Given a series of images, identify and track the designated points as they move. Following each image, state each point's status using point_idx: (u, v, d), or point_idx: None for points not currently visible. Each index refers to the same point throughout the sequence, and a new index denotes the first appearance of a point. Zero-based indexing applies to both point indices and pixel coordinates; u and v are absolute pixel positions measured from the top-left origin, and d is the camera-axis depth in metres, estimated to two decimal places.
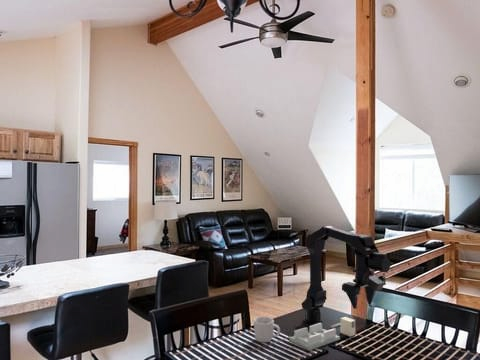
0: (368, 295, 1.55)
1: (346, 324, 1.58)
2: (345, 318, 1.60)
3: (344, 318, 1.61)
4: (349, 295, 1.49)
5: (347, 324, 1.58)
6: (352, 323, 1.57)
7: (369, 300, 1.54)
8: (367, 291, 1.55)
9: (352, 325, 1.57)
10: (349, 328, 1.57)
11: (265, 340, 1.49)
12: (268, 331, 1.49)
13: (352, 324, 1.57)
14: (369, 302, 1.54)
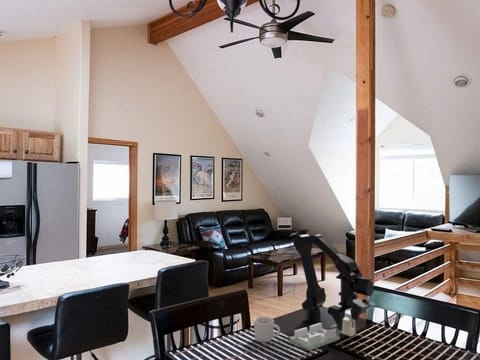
0: (353, 317, 1.63)
1: (346, 324, 1.58)
2: (345, 318, 1.60)
3: (344, 318, 1.61)
4: (335, 318, 1.57)
5: (347, 324, 1.58)
6: (352, 323, 1.57)
7: None
8: (352, 313, 1.63)
9: (352, 325, 1.57)
10: (349, 328, 1.57)
11: (265, 340, 1.49)
12: (268, 331, 1.49)
13: (352, 324, 1.57)
14: None
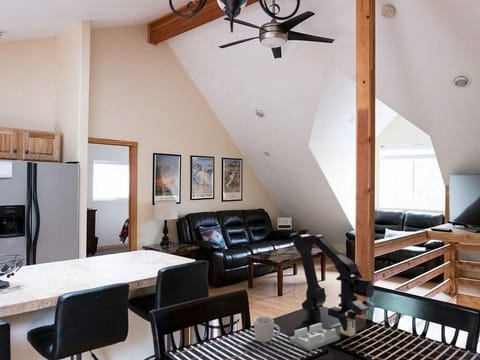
0: None
1: None
2: None
3: None
4: None
5: (347, 324, 1.58)
6: (352, 323, 1.57)
7: None
8: (348, 316, 1.62)
9: (352, 325, 1.57)
10: (349, 328, 1.57)
11: (265, 340, 1.49)
12: (268, 331, 1.49)
13: (352, 324, 1.57)
14: None
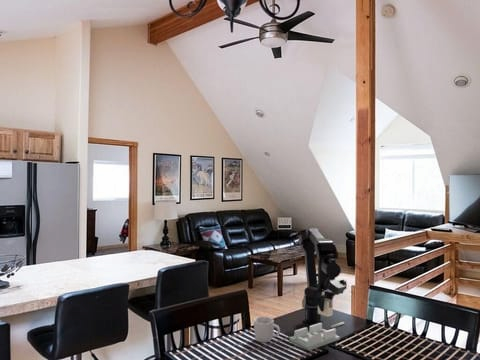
0: None
1: None
2: None
3: None
4: (316, 298, 1.54)
5: (324, 304, 1.53)
6: (329, 303, 1.52)
7: None
8: (325, 296, 1.57)
9: (329, 305, 1.52)
10: (326, 308, 1.52)
11: (265, 340, 1.49)
12: (268, 331, 1.49)
13: (329, 304, 1.53)
14: None
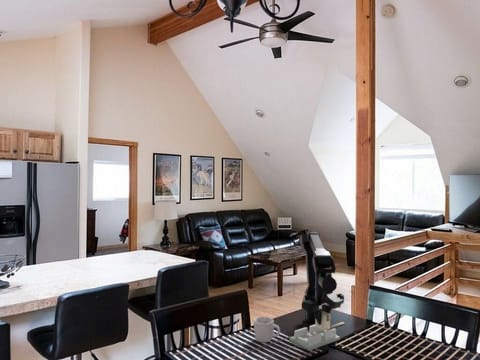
0: None
1: (321, 318, 1.53)
2: None
3: None
4: (314, 311, 1.54)
5: (322, 317, 1.53)
6: (327, 317, 1.52)
7: None
8: (323, 309, 1.57)
9: (327, 319, 1.52)
10: (324, 322, 1.52)
11: (265, 340, 1.49)
12: (268, 331, 1.49)
13: (326, 318, 1.52)
14: None
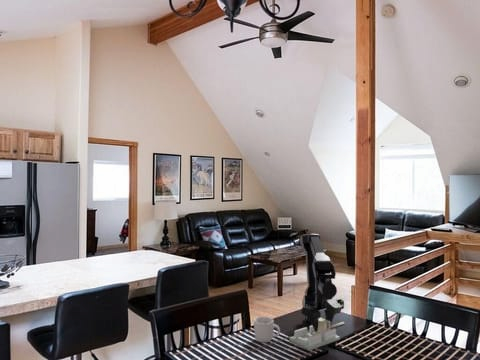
0: (327, 318, 1.57)
1: (321, 325, 1.53)
2: (320, 319, 1.56)
3: (319, 319, 1.56)
4: (310, 318, 1.53)
5: (322, 325, 1.53)
6: (327, 324, 1.52)
7: None
8: (326, 314, 1.58)
9: (327, 326, 1.52)
10: (324, 329, 1.52)
11: (265, 340, 1.49)
12: (268, 331, 1.49)
13: (326, 325, 1.52)
14: None
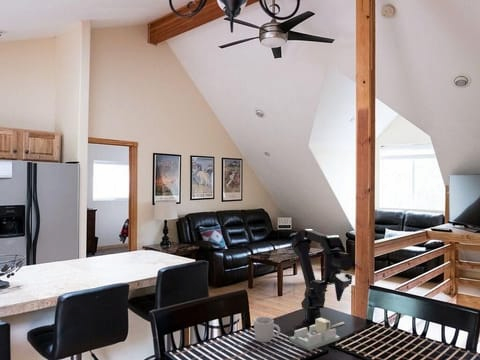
0: (337, 292, 1.63)
1: (321, 325, 1.53)
2: (320, 319, 1.56)
3: (319, 319, 1.56)
4: (317, 292, 1.58)
5: (322, 325, 1.53)
6: (327, 324, 1.52)
7: (338, 297, 1.62)
8: (336, 288, 1.63)
9: (327, 326, 1.52)
10: (324, 329, 1.52)
11: (265, 340, 1.49)
12: (268, 331, 1.49)
13: (326, 325, 1.52)
14: (338, 299, 1.62)
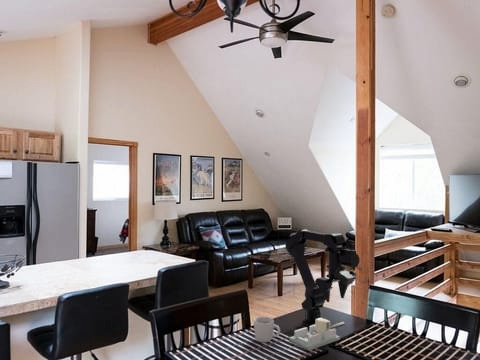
0: (341, 289, 1.65)
1: (321, 325, 1.53)
2: (320, 319, 1.56)
3: (319, 319, 1.56)
4: (322, 289, 1.60)
5: (322, 325, 1.53)
6: (327, 324, 1.52)
7: (342, 294, 1.65)
8: (340, 285, 1.66)
9: (327, 326, 1.52)
10: (324, 329, 1.52)
11: (265, 340, 1.49)
12: (268, 331, 1.49)
13: (326, 325, 1.52)
14: (342, 296, 1.65)
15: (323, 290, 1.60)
